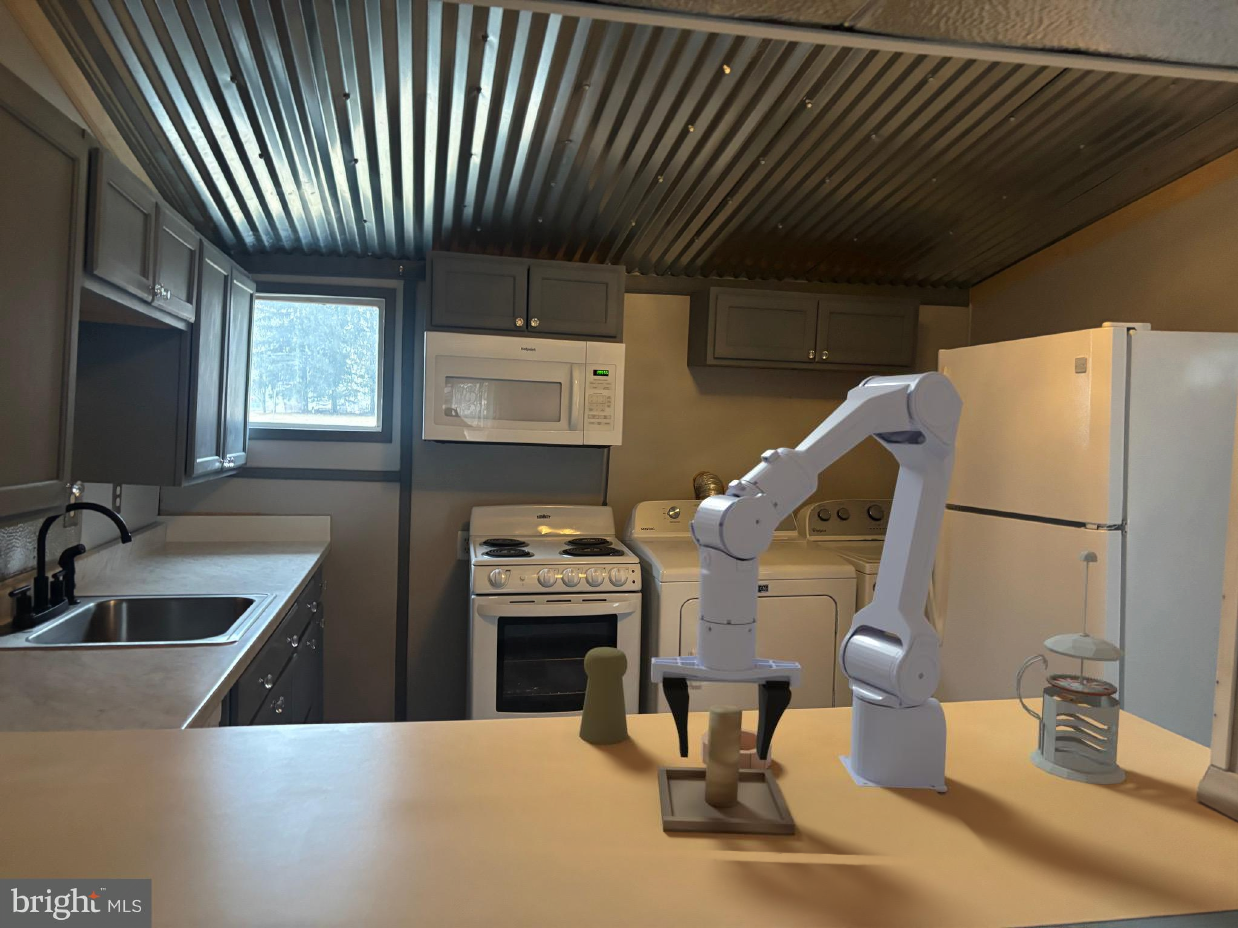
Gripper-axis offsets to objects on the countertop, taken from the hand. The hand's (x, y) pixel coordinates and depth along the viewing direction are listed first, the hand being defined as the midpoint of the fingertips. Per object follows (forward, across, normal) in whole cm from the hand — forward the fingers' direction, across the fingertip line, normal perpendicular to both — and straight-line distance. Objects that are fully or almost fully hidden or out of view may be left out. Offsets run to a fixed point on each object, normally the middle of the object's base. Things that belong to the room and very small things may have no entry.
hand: (722, 754), depth 79 cm
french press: (+6, -42, -14) cm, 45 cm away
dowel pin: (+5, 0, 0) cm, 5 cm away
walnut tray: (+5, 0, 0) cm, 5 cm away
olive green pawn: (+6, +12, -17) cm, 22 cm away
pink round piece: (+5, -3, -11) cm, 13 cm away
